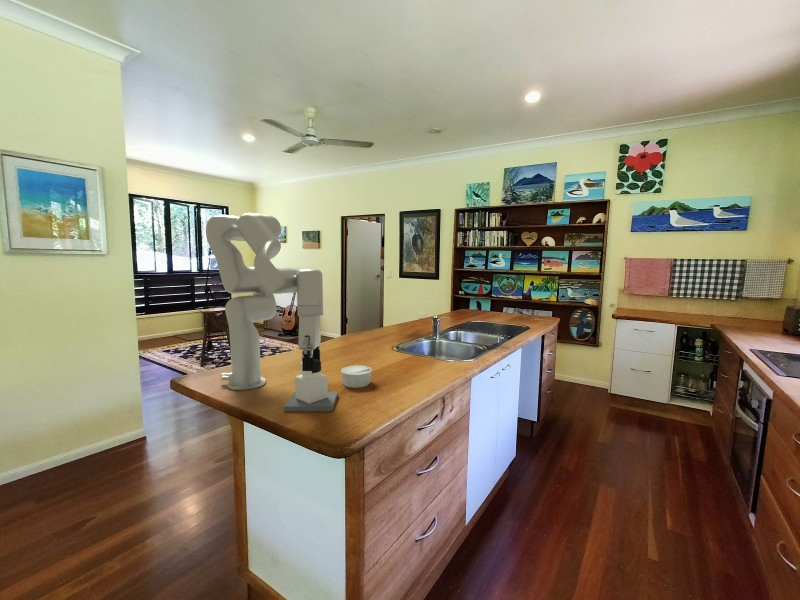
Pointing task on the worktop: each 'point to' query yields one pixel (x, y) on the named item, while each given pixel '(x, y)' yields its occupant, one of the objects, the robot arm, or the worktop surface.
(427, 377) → the worktop surface
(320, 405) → the rubber mat
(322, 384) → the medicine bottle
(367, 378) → the ramekin
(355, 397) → the worktop surface
